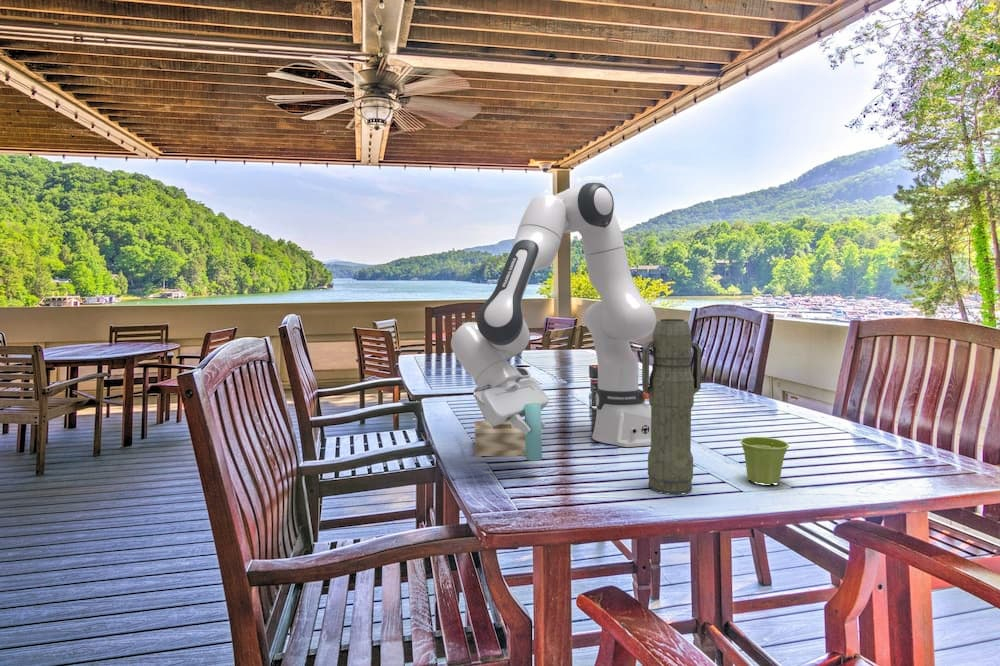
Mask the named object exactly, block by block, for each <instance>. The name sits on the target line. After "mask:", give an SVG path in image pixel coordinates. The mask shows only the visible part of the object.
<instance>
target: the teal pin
mask: <svg viewBox="0 0 1000 666" xmlns="http://www.w3.org/2000/svg"><path fill="white" fill-rule="evenodd" d="M541 419H542V410H541V404H538V403H528V404H525V416H524V420H525V423H526V424H527V423H529V424H530V426H531V427H532V428H533V430H532V431H531V433H529V434H527V435H525V449H526V456H525V460H527V461H531V462H536V461H541V460H542V459H543V447H542V446H543V441H542V439H543V438H542V437H543V435H542V434H543V433H542V429H541Z"/></svg>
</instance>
